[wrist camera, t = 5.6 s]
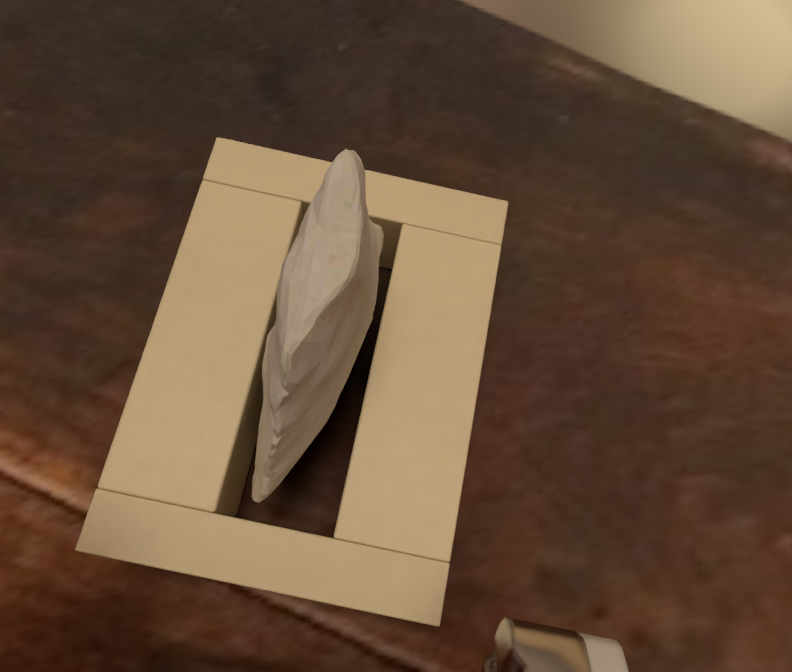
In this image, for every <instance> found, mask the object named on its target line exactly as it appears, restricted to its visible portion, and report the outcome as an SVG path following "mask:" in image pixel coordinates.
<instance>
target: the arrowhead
mask: <svg viewBox="0 0 792 672" xmlns="http://www.w3.org/2000/svg"><path fill="white" fill-rule="evenodd" d="M383 236H384V234H383V231H382V228H381V226H379V225H377V224H374V223H373V222H372V221H371V220H370V219H369V215H368V209H367V205H366V184H365V171H364V167H363V163H362V161H361V159H360V158H359V156H358V155H357V154H356V152H355V151H352V150H347V149H345V150H344V151H342V152H341V153H340V154H338V155H337V157H336V158H335V159H334V161H333V162H332V164H331V165H330V166H329V168H328V169H327V171H326V173H325V176H324V179H323V182H322V185H321V186H320V188H319V190H318V191H317V193H316V194H315V196H314V198H313V199H312V201H311V203H310V205H309V207H308V209H307V211H306V213H305V216H304V218H303V221H302V223H301V226H300V228H299V232H298V235H297V237H296V239H295V241H294V243H293V244H292V246H291V248H290V250H289V252H288V254H287V256H286V258H285V260H284V261H283V263H282V268H281V273H280V279H279V284H278V290H277V310H276V321H275V324H274V326H273V328H272V329H271V331H270V332H269V334H268V335H267V340H266V348H265V353H264V359H263V364H262V379H263V406H262V411H261V417H260V422H259V430H258V439H257V448H256V458H255V470H254V475H253V479H252V499H253V501H255V502H259V503H260V502H261V501H262V500H264V499H265V498H267V497H268V496H269V495H270V494H271V493H272V492H273V491H274V490H275V489H276V488H277V487H278V486H279V484H280V483H281V482H282V480H283V479H284V478H285V477H286V475H287V474H288V473H289V471H290V470H291V469H292V468H293V466H294V465H295V464H296V462H297V461H298V460H299V459H300V457H301V456H302V455H303V453H304V452H305V450H306V449H307V448H308V446H309V445H310V444H311V443H312V441H313V440H314V438H315V437H316V436H317V435H318V433H319V432H320V431H321V429H322V428H323V427H324V425H325V424H326V422H327V420H328V419H329V417H330V415H331V414H332V411H333V410H334V408H335V406H336V403H337V401H338V398H339V395H340V393H341V391H342V389H343V387H344V385H345V383H346V381H347V379H348V376H349V374H350V372H351V369H352V367H353V365H354V362H355V360H356V358H357V355H358V353H359V350H360V348H361V345H362V343H363V341H364V338H365V336H366V333H367V331H368V328H369V326H370V324H371V322H372V319H373V312H374V308H375V304H376V298H377V288H378V274H379V257H380V254H381V251H382V247H383Z"/></svg>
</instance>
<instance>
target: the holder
mask: <svg viewBox="0 0 792 672" xmlns="http://www.w3.org/2000/svg"><path fill="white" fill-rule="evenodd" d="M331 164H332V162H328V161H323V160H319V159H314V158H309V157H305V156H300V155H296V154H291V153H287V152H282V151H278V150H273V149H269V148H264V147H260V146H255V145H251V144H246V143H242V142H237V141H233V140H228V139H224V138H219V137H217V138H216V141H215V144H214V147H213V150H212V153H211V156H210V159H209V161H208V164H207V167H206V170H205V173H204V176H203V180H204V181H202V183H201V186H200V188H199V191H198V194H197V197H196V200H195V203H194V206H193V209H192V212H191V215H190V218H189V221H188V223H187V226H186V229H185V232H184V235H183V238H182V241H181V244H180V247H179V250H178V253H177V256H176V258H175V261H174V264H173V267H172V270H171V273H170V276H169V279H168V282H167V285H166V288H165V291H164V294H163V296H162V299H161V302H160V305H159V308H158V311H157V314H156V317H155V320H154V323H153V326H152V329H151V331H150V334H149V337H148V340H147V343H146V346H145V349H144V352H143V355H142V358H141V361H140V364H139V366H138V369H137V372H136V375H135V378H134V381H133V384H132V387H131V390H130V393H129V396H128V399H127V401H126V404H125V407H124V410H123V413H122V416H121V419H120V422H119V425H118V428H117V431H116V434H115V437H114V439H113V442H112V445H111V448H110V451H109V454H108V457H107V460H106V463H105V466H104V469H103V472H102V474H101V477H100V480H99V483H98V488H100V489H96V490H95V493H94V496H93V499H92V502H91V505H90V508H89V511H88V513H87V516H86V519H85V522H84V525H83V528H82V531H81V534H80V537H79V540H78V543H77V546H76V548H75V550H76V551H78V552H83V553H88V554H92V555H97V556H102V557H107V558H111V559H116V560H121V561H126V562H131V563H135V564H140V565H145V566H150V567H154V568H159V569H164V570H169V571H174V572H178V573H183V574H188V575H193V576H198V577H202V578H207V579H212V580H217V581H221V582H226V583H231V584H236V585H241V586H245V587H250V588H255V589H260V590H265V591H269V592H274V593H279V594H284V595H288V596H293V597H298V598H303V599H308V600H312V601H317V602H322V603H327V604H332V605H336V606H341V607H346V608H351V609H355V610H360V611H365V612H370V613H375V614H379V615H384V616H389V617H394V618H398V619H403V620H408V621H413V622H418V623H422V624H427V625H432V626H437V627H438V626H440V622H441V616H442V609H443V603H444V597H445V591H446V585H447V579H448V572H449V566H450V564H449V563H448V562H450V560H451V553H452V547H453V541H454V535H455V529H456V523H457V516H458V510H459V504H460V498H461V492H462V486H463V480H464V473H465V467H466V461H467V455H468V449H469V443H470V436H471V430H472V424H473V418H474V412H475V406H476V400H477V393H478V387H479V381H480V375H481V369H482V363H483V356H484V350H485V344H486V338H487V332H488V326H489V320H490V313H491V307H492V301H493V295H494V289H495V283H496V277H497V270H498V264H499V258H500V252H501V244H502V239H503V233H504V227H505V221H506V215H507V209H508V202H507V201H503V200H499V199H494V198H490V197H485V196H481V195H476V194H472V193H467V192H463V191H458V190H454V189H449V188H445V187H440V186H436V185H431V184H427V183H422V182H418V181H413V180H409V179H404V178H400V177H395V176H391V175H386V174H382V173H377V172H373V171H368V170H364V171H365V184H366V205H367V209H368V215H369V219H370V220H371V221H372V222H373V223H374V224H377V225H379V226H381V228H382V231H383V234H384V236H383V247H382V251H381V254H380V257H379V267H383V268H387V269H392V273H391V277H390V282H389V286H388V291H387V295H386V300H385V304H384V309H383V314H382V318H381V323H380V327H379V332H378V336H377V341H376V345H375V350H374V354H373V359H372V363H371V368H370V372H369V377H368V381H367V386H366V391H365V395H364V400H363V404H362V409H361V413H360V418H359V422H358V427H357V431H356V436H355V440H354V445H353V449H352V454H351V458H350V463H349V467H348V472H347V477H346V481H345V486H344V490H343V495H342V499H341V504H340V508H339V513H338V517H337V522H336V526H335V531H334V538H330V537H325V536H321V535H316V534H311V533H306V532H302V531H297V530H292V529H287V528H283V527H278V526H273V525H269V524H264V523H259V522H254V521H250V520H245V519H240V518H235V516H236V515H237V512H238V508H239V504H240V501H241V497H242V493H243V490H244V486H245V482H246V478H247V475H248V471H249V467H250V464H251V460H252V456H253V453H254V449H255V445H256V441H257V438H258V430H259V422H260V417H261V411H262V406H263V379H262V364H263V359H264V353H265V348H266V340H267V335H268V334H269V332H270V331H271V329H272V328H273V326H274V324H275V321H276V310H277V290H278V284H279V279H280V273H281V268H282V263H283V261H284V260H285V258H286V256H287V254H288V252H289V250H290V248H291V246H292V244H293V243H294V241H295V239H296V237H297V235H298V232H299V228H300V226H301V223H302V221H303V218H304V216H305V213H306V211H307V209H308V207H309V205H310V203H311V201H312V199H313V198H314V196H315V194H316V193H317V191H318V190H319V188H320V186H321V185H322V182H323V179H324V176H325V173H326V171H327V169H328V168H329V166H330V165H331Z"/></svg>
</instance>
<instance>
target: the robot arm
mask: <svg viewBox="0 0 792 672" xmlns="http://www.w3.org/2000/svg"><path fill="white" fill-rule="evenodd" d="M495 649H496V652H495V653H493V654H491V655H489V656H487V657H486V658H485V661H484V664H483V667H482V669H481V672H629V671H628V667H627V663H626V660H625V656H624V653H623V649H622V647H621V646H620V645H619V643H618V642H617V640H612V639H607V638H602V637H598V636H593V635H588V634H583V633H577V632H575V631H571V630H566V629H561V628H556V627H551V626H546V625H541V624H536V623H531V622H526V621H521V620H516V619H511V618H506V617H505V618H504V619H503V620H502V621H501V622H500V624H499V627H498V629H497V631H496V634H495Z"/></svg>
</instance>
